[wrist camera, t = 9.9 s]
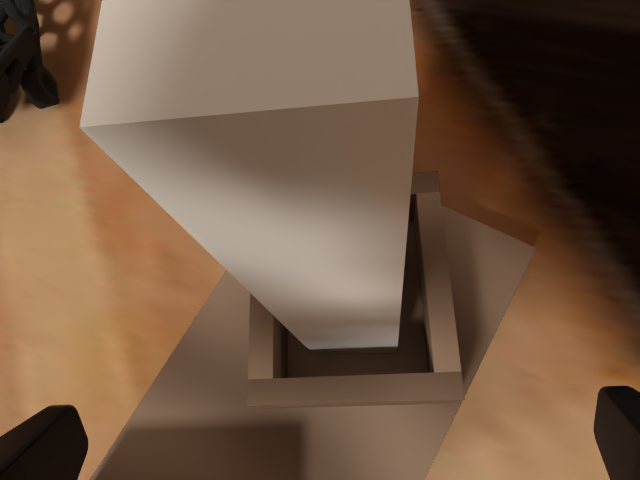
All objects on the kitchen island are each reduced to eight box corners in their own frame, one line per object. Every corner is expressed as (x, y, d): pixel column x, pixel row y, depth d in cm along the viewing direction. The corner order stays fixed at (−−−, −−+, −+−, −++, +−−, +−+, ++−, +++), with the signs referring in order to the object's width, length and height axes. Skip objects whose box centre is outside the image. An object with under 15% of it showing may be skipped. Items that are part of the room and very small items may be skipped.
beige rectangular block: (397, 352, 18) (417, 96, 4) (314, 355, 18) (78, 127, 5) (390, 247, 20) (388, -206, 6) (313, 251, 20) (132, -165, 6)
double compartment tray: (216, 901, 14) (165, 1038, 11) (-17, 664, 17) (-111, 719, 14) (529, 256, 20) (557, 222, 16) (311, 155, 23) (298, 109, 19)
